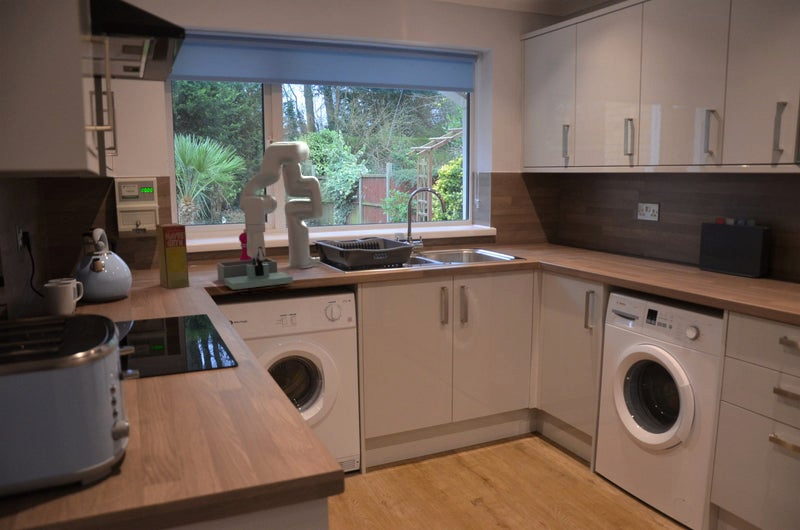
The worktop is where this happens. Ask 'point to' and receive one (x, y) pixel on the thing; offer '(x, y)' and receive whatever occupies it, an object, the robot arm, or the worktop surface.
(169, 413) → the worktop surface
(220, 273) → the tub
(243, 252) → the pepper mill
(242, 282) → the lid
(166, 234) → the food packaging
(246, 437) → the worktop surface
